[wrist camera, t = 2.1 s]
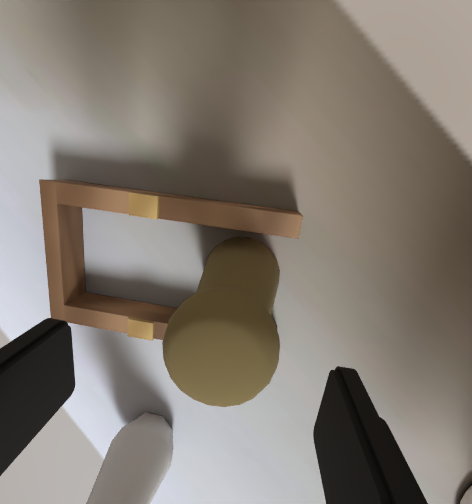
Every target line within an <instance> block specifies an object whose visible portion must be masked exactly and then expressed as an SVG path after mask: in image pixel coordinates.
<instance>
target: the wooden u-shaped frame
mask: <svg viewBox="0 0 472 504" xmlns="http://www.w3.org/2000/svg"><path fill="white" fill-rule="evenodd" d="M39 182H40V194H41V206H42V217H43V229H44V241H45V252H46V264H47V276H48V288H49V299H50V311H51V318H53V319H59V320H64V321H66V322H68V323H74V324H79V325H85V326H90V327H96V328H101V329H106V330H112V331H117V332H123V333H128V336H130V337H136V338H141V339H147V340H153V339H154V338H155V339H160V340H163V339H164V335H165V331H166V328H167V325H168V322H169V319H170V318H171V316H172V315H173V314H174V312H175V311H176V310H177V309H178V308H173V307H167V306H162V305H156V304H150V303H144V302H139V301H133V300H127V299H121V298H116V297H110V296H104V295H98V294H93V293H87V292H85V271H84V248H83V224H82V207H83V208H90V209H97V210H104V211H111V212H118V213H125V214H129V215H133V216H140V217H146V218H153V219H166V220H173V221H180V222H187V223H194V224H201V225H207V226H214V227H221V228H228V229H235V230H242V231H249V232H256V233H262V234H269V235H276V236H283V237H290V238H297V239H299V235H300V230H301V224H302V219H303V215H302V214H301V213H299V212H297V211H290V210H282V209H275V208H268V207H261V206H253V205H246V204H239V203H231V202H224V201H217V200H209V199H202V198H195V197H187V196H180V195H173V194H165V193H158V192H151V191H143V190H136V189H129V188H122V187H114V186H107V185H100V184H92V183H85V182H78V181H70V180H39ZM276 328H277V325H276Z"/></svg>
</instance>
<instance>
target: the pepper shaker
mask: <svg viewBox="0 0 472 504" xmlns="http://www.w3.org/2000/svg"><path fill="white" fill-rule="evenodd" d="M279 273H280V270H279V266H278V263H277V259H276V258H275V256H274V255H273V253H272V252H271V250H270V249H268V248H267V247H266V246H265V245H263V244H262V243H261V242H258V241H256V240H253V239H250V238H240V237H236V238H232V239H229V240H225V241H224V242H222V243H221V244H219V245H218V246H216V247H215V248H214V249H213V251H212V252H211V253H210V255H209V256H208V259H207V262H206V265H205V268H204V271H203V274H202V277H201V280H200V284H199V287H198V290H197V293H195V294H194V295H192V296H191V297H189V298H187V299H186V300H184V301H183V302H182V304H181V305H180V306H179V307H178V309H177V310H176V311H175V312H174V314H173V315H172V316H171V318H170V319H169V322H168V325H167V328H166V331H165V335H164V339H163V358H164V362H165V365H166V368H167V370H168V372H169V375H170V377H171V379H172V380H173V381H174V383H175V384H176V385H177V386H178V388H179V389H180V390H181V391H182V392H184V393H185V394H187V395H188V396H189V397H191V398H192V399H194V400H197V401H199V402H202V403H204V404H207V405H212V406H220V407H227V406H234V405H240V404H242V403H244V402H246V401H249V400H251V399H253V398H254V397H255V396H256V395H257V394H258V393H259V392H260V391H262V390H263V389H264V388H265V387H266V386H267V385H268V384H269V383H270V381H271V378H272V376H273V374H274V372H275V370H276V368H277V364H278V361H279V349H280V342H279V335H278V332H277V328H276V325H275V321H274V320H273V318H272V316H271V312H272V308H273V304H274V300H275V296H276V292H277V288H278V284H279Z"/></svg>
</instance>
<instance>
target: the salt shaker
mask: <svg viewBox="0 0 472 504" xmlns="http://www.w3.org/2000/svg"><path fill="white" fill-rule="evenodd" d="M172 454H173V430H172V428H171V427H170V426H169V424H168V423H167V422H166V420H165V419H164V418H163V416H159V415H154V414H150V413H146V412H145V413H144V414H142V415H141V416H140V417H138V418H137V419H135V420H133V421H132V422H130V423H129V424H127V425H126V426H124V427H123V428H122V429H121V430H120V431H119V432H118V434H117V435H116V436H115V437H114V439H113V440H112V442H111V444H110V447H109V449H108V452H107V454H106V457H105V459H104V462H103V464H102V467H101V469H100V472H99V474H98V476H97V479H96V481H95V484H94V486H93V489H92V492H91V494H90V496H89V498H88V501H87V503H86V504H150V502H151V501H152V499H153V497H154V495H155V493H156V491H157V489H158V488H159V486H160V484H161V482H162V480H163V478H164V477H165V475H166V473H167V471H168V469H169V467H170V466H171V461H172Z"/></svg>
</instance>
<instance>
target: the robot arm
mask: <svg viewBox="0 0 472 504" xmlns="http://www.w3.org/2000/svg"><path fill="white" fill-rule="evenodd" d="M74 388H75V375H74V362H73V348H72V335H71V327H70V326H68V323H67V322H66V321H64V320H59V319H53V318H47V319H45V320H43V321H42V322H40V323H39V324H37V325H36V326H34V327H33V328H31V329H30V330H28V331H27V332H25V333H24V334H22V335H20V336H19V337H17V338H16V339H14V340H13V341H11V342H10V343H8V344H7V345H5V346H4V347H2V348H1V349H0V476H1V474H2V473H3V472H4V471H5V470H6V469H7V468H8V466H9V465H10V464H11V463H12V462H13V461H14V460H15V458H16V457H17V456H18V455H19V454H20V453H21V452H22V451H23V449H24V448H25V447H26V446H27V445H28V444H29V443H30V441H31V440H32V439H33V438H34V437H35V436H36V435H37V433H38V432H39V431H40V430H41V429H42V428H43V427H44V426H45V424H46V423H47V422H48V421H49V420H50V419H51V418H52V416H53V415H54V414H55V413H56V412H57V411H58V409H59V408H60V407H61V406H62V405H63V404H64V403H65V402H66V400H67V399H68V398H69V397H70V396H71V394H72V393H73V391H74ZM314 444H315V449H316V454H317V459H318V464H319V469H320V474H321V479H322V484H323V489H324V494H325V499H326V504H428V503H427V501H426V499H425V497H424V495H423V493H422V491H421V489H420V487H419V485H418V484H417V482H416V480H415V478H414V476H413V474H412V472H411V470H410V468H409V466H408V464H407V462H406V460H405V458H404V456H403V454H402V452H401V450H400V448H399V446H398V444H397V442H396V440H395V438H394V436H393V435H392V433H391V431H390V429H389V427H388V425H387V423H386V422H385V420H383V419H382V418H380V417H379V415H378V413H377V411H376V409H375V407H374V405H373V403H372V401H371V399H370V397H369V395H368V393H367V391H366V389H365V387H364V385H363V383H362V381H361V379H360V377H359V375H358V373H357V371H356V370H355V369H351V368H345V367H339V366H338V367H336V369H335V370H331V371H330V373H329V376H328V380H327V383H326V387H325V391H324V394H323V398H322V401H321V405H320V408H319V412H318V416H317V419H316V423H315V426H314ZM460 504H472V486H471V487H470V488H469V489H468V490H467V491H466V493H465V494H464V496H463V497H462V499H461V502H460Z"/></svg>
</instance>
